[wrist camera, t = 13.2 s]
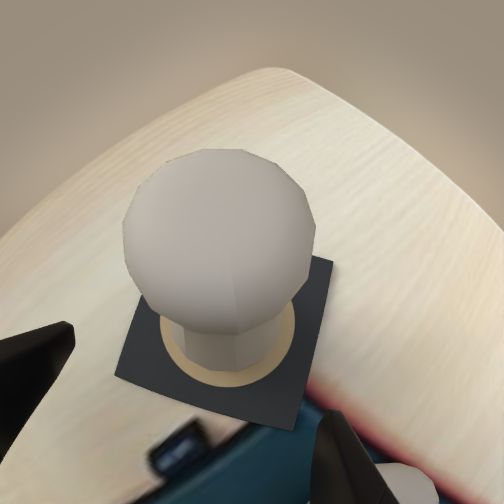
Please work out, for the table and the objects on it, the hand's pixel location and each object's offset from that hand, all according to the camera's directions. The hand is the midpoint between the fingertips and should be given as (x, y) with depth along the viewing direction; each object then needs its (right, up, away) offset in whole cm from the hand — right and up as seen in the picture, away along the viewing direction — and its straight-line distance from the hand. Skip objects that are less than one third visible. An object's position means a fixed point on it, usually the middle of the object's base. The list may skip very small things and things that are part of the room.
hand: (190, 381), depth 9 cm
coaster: (0, 0, +9) cm, 9 cm away
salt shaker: (0, 0, +9) cm, 9 cm away
